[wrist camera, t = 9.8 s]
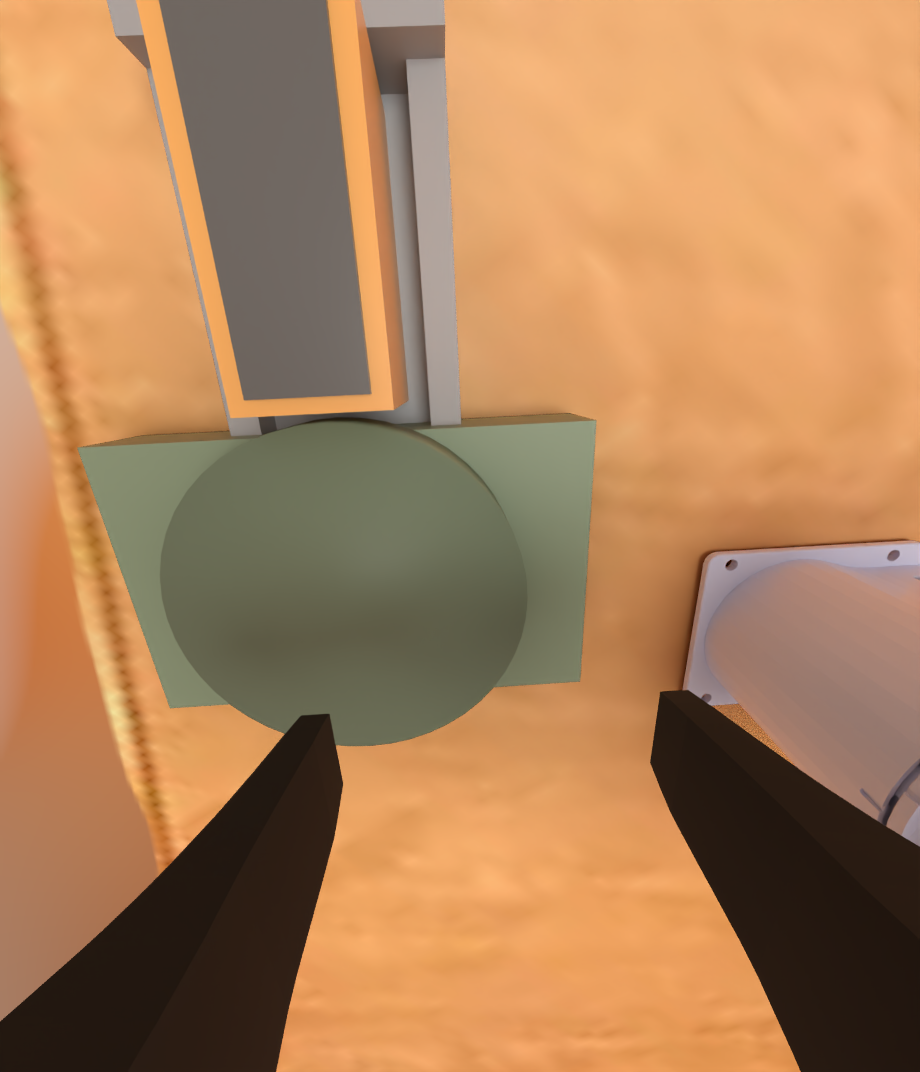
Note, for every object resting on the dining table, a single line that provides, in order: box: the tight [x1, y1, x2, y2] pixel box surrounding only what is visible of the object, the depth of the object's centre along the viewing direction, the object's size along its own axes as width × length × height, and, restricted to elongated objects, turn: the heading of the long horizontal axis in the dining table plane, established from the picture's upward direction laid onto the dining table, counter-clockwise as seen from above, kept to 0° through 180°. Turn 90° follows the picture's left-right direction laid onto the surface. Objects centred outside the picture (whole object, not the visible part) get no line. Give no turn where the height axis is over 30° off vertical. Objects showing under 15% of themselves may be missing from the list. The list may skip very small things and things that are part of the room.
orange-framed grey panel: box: [136, 0, 409, 418], centre depth 11 cm, size 4×8×5 cm, turn 2°
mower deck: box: [78, 0, 596, 746], centre depth 14 cm, size 16×21×5 cm
